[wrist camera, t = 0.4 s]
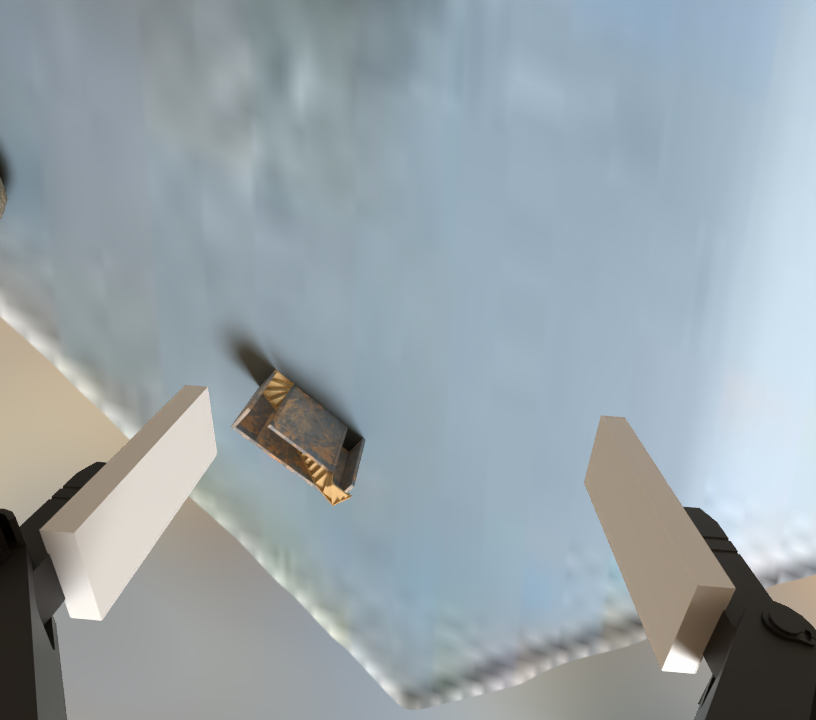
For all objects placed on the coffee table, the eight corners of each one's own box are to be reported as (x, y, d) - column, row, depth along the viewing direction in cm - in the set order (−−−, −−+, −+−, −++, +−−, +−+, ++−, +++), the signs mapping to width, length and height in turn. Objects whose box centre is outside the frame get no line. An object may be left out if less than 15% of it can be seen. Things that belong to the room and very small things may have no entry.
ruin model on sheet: (368, 434, 49) (353, 499, 41) (349, 452, 50) (330, 519, 42) (279, 364, 47) (241, 417, 38) (261, 384, 48) (220, 441, 39)
